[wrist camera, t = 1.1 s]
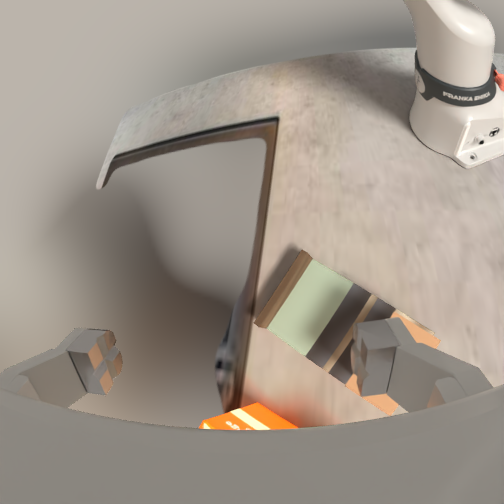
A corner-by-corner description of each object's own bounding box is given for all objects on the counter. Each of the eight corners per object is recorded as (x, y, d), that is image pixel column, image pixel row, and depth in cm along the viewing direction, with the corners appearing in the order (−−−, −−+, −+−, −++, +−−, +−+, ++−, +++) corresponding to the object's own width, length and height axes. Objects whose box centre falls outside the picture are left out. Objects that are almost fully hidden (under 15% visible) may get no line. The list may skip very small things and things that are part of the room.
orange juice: (300, 428, 38) (237, 479, 21) (270, 471, 37) (196, 530, 20) (256, 401, 42) (171, 427, 24) (229, 444, 41) (141, 482, 24)
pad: (353, 284, 41) (353, 283, 41) (306, 356, 41) (305, 356, 41) (313, 260, 45) (312, 258, 44) (268, 328, 45) (266, 328, 44)
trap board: (434, 333, 35) (438, 332, 32) (383, 409, 34) (383, 414, 31) (308, 256, 45) (301, 249, 42) (263, 325, 45) (253, 322, 42)
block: (427, 342, 34) (440, 340, 26) (388, 400, 34) (390, 416, 25) (391, 319, 37) (394, 311, 29) (353, 376, 37) (344, 385, 28)
